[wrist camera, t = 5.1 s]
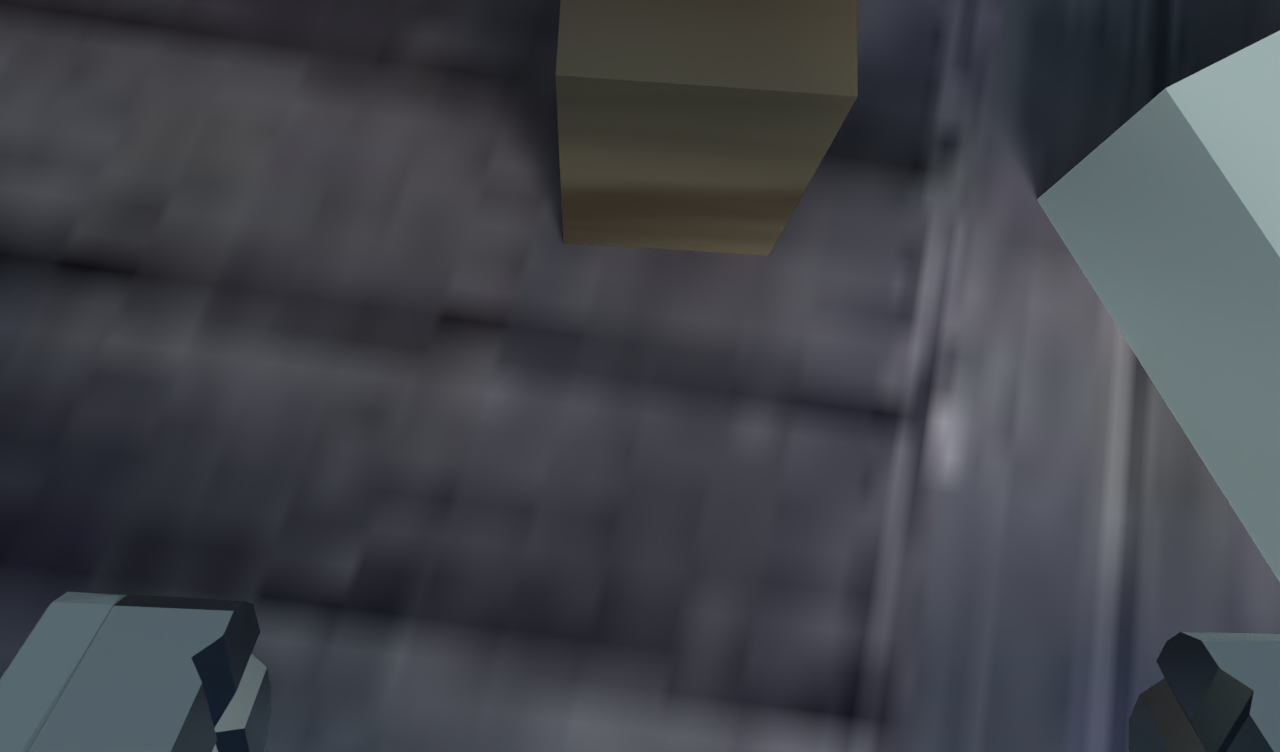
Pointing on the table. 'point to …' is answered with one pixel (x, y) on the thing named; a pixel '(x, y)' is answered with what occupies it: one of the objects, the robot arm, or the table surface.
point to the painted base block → (1197, 264)
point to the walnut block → (697, 117)
